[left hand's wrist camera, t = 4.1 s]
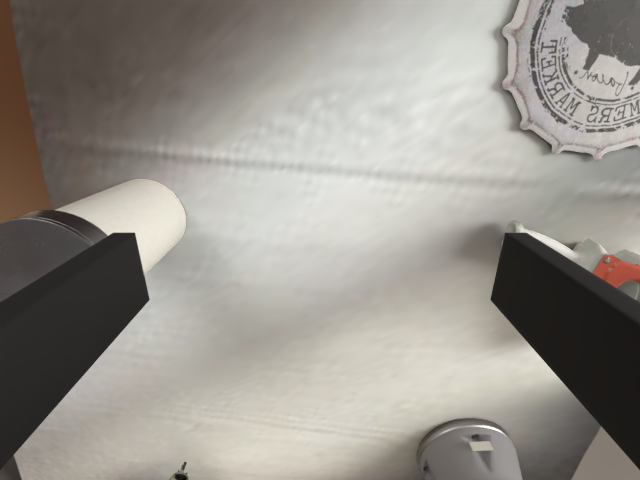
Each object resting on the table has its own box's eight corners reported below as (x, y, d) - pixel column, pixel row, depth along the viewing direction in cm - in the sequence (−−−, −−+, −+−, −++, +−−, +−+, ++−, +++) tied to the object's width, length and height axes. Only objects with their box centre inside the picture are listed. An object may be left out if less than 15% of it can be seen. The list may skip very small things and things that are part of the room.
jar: (176, 261, 43) (101, 343, 28) (103, 235, 42) (-16, 306, 27) (194, 196, 40) (121, 249, 25) (116, 166, 39) (-10, 204, 24)
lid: (117, 336, 30) (103, 352, 28) (-3, 298, 29) (-28, 313, 27) (141, 237, 27) (126, 248, 25) (5, 189, 25) (-23, 196, 23)
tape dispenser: (487, 220, 42) (521, 347, 48) (506, 233, 37) (541, 373, 43) (642, 167, 39) (659, 310, 45) (685, 174, 34) (698, 334, 40)
